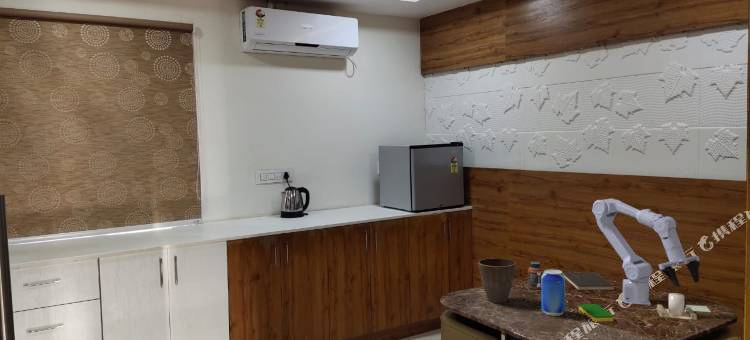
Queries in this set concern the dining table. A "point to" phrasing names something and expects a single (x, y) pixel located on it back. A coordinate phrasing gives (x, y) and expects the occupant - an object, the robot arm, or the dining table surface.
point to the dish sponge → (596, 312)
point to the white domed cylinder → (676, 304)
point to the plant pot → (497, 278)
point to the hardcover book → (588, 281)
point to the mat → (699, 308)
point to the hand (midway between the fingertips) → (687, 284)
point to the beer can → (553, 292)
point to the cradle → (664, 313)
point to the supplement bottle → (535, 276)
